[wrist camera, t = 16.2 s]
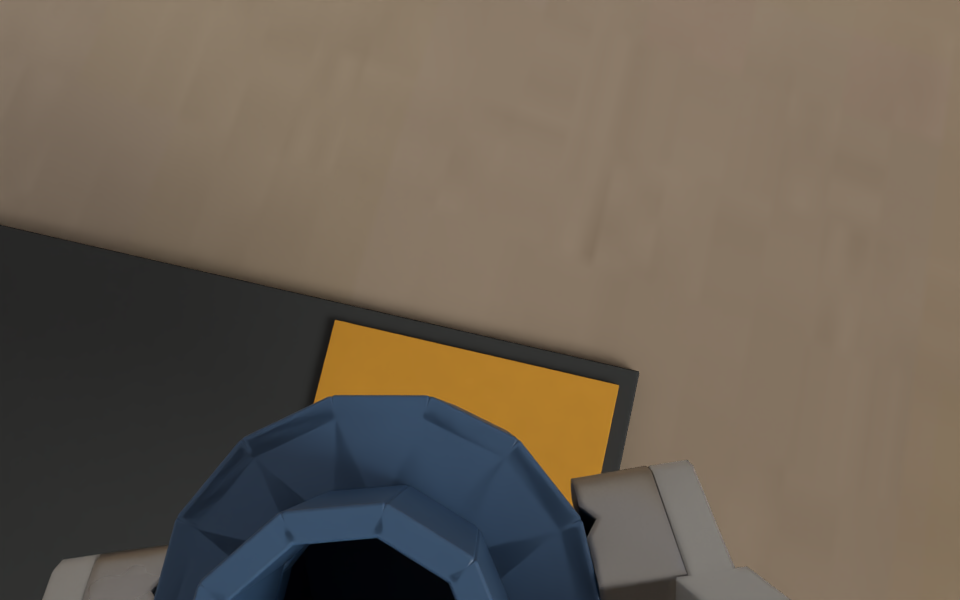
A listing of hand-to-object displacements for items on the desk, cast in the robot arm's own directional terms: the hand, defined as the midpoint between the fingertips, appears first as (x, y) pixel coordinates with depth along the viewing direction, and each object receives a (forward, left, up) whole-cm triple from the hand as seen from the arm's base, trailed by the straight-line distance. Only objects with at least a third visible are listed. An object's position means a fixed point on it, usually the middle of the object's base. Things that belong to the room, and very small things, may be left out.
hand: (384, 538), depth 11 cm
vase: (0, -1, -5) cm, 5 cm away
